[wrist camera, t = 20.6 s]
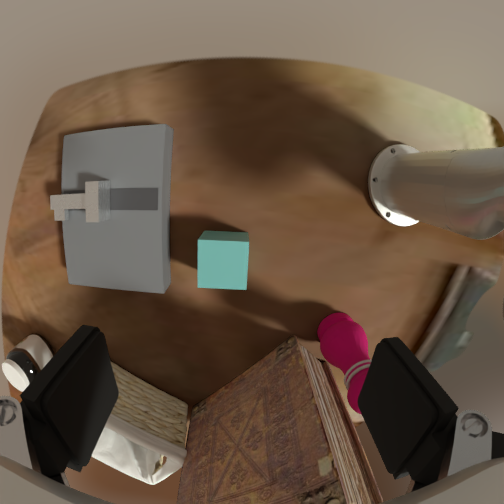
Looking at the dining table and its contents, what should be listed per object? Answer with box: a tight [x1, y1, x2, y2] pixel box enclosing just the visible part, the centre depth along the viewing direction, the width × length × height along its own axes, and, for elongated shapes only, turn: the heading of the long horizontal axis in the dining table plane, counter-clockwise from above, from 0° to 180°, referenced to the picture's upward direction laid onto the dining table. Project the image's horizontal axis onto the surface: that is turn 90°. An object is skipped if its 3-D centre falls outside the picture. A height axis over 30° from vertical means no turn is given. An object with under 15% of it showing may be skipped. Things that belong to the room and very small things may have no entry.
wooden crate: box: [177, 335, 383, 504], centre depth 31 cm, size 25×9×30 cm, turn 133°
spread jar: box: [2, 334, 54, 391], centre depth 37 cm, size 12×11×12 cm
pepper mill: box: [317, 313, 372, 414], centre depth 33 cm, size 7×7×20 cm
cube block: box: [198, 231, 249, 290], centre depth 36 cm, size 6×6×6 cm
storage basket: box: [92, 362, 188, 485], centre depth 38 cm, size 24×16×15 cm
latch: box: [50, 180, 110, 222], centre depth 30 cm, size 10×5×3 cm, turn 87°
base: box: [62, 124, 174, 294], centre depth 34 cm, size 16×22×4 cm
